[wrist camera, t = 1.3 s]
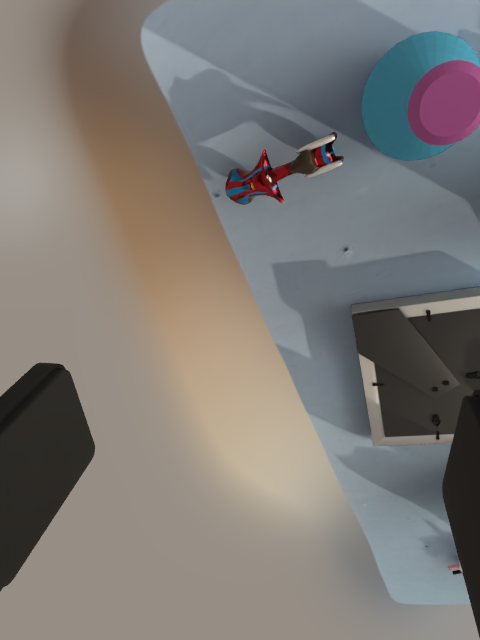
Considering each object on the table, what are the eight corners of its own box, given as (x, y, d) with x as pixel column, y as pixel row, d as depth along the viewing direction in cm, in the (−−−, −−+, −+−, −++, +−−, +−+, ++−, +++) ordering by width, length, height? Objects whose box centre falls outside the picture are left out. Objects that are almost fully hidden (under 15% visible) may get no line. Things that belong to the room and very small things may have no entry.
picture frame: (351, 304, 48) (372, 435, 57) (352, 316, 46) (373, 450, 55) (502, 283, 43) (500, 429, 52) (512, 294, 41) (507, 445, 50)
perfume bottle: (344, 139, 40) (348, 163, 27) (382, 25, 35) (408, -10, 22) (437, 164, 39) (485, 201, 27) (488, 52, 34) (577, 32, 22)
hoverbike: (222, 165, 43) (207, 175, 39) (332, 117, 39) (331, 121, 34) (240, 210, 45) (229, 225, 41) (347, 169, 41) (349, 180, 36)
